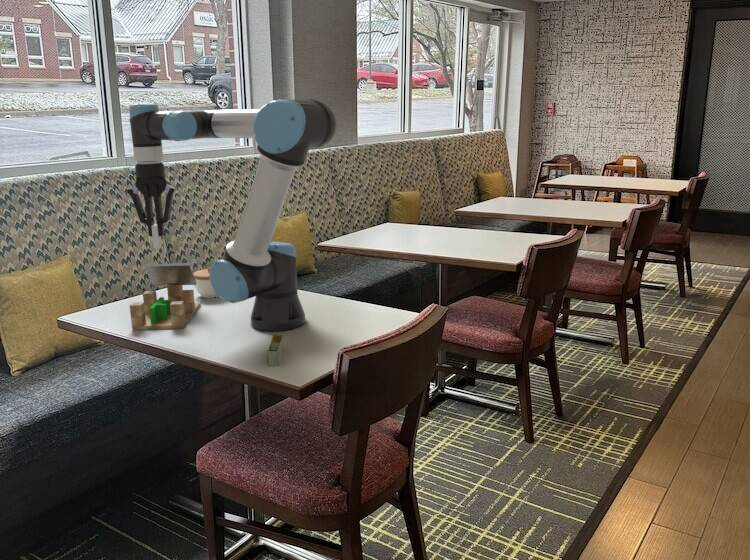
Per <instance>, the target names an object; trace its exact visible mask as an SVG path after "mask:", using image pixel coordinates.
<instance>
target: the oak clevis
mask: <svg viewBox="0 0 750 560" xmlns="http://www.w3.org/2000/svg"><path fill="white" fill-rule="evenodd" d="M183 286H184V285H171V286H166V288H167V289H166V290H167V300H170V303H171V304H170V311H171V315H168V319H167V320H158V321H157V322H156V323H151V319H150V310H149V308H150V307H151V306H152V305H153V304H154V303H155V302H156V301H157V300H158V296H157V291H156V290H145V291H144V292H143V293H142V298H143V299H142V300H143V302H141V301H139V302H137V301H136V302H134V301H133V302H132V303H130V304H129V313H130V320H131V321H130V322H131V330H132V329H146V330H173V329H175V330H176V329H177V330H178V329H184V328H185V327H186V325H188V323H189V322H190V320H191V319H192V318H193V317H194V316H195V314H196V313H195V312H197V311H198V310H199V309H198V308H201V302H196V301H195V293H194V292H195V291H194V289H183V288H184V287H183ZM194 313H195V314H194ZM191 317H192V318H191ZM188 321H189V322H188Z"/></svg>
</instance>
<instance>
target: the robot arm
mask: <svg viewBox="0 0 750 560" xmlns="http://www.w3.org/2000/svg"><path fill="white" fill-rule="evenodd" d="M128 121H129V124H130V132H131V141H132V151H133V161H134V162H136V163H135V165H134V171H135V178H136V179H135V182H134V186H132V187H130V188H129V189H127V193H128V194H129V197H131V198H132V202H133V205H134V208H135V210H136V211H135V212H136V213H137V216H138V219H139V222H140V223H141V224H145V225H146V226H147V230H148V232H147V233H148V236H149V237H152V245H153V249H154V250H155V249H156V250H157V249H158V250H159V249H161V248H162V245H163V244H162V237H163V236H164V235H165V229H164V224H165V223H168V222H169V221H170V219H171V213H172V207H173V200H174V199H173V198H174V194H175V193H176V191H177V188H176V187H175V186H171V185H170V184H168V180H167V179H166V171H165V164H164V163H163V160H164V152H163V143H162V141H175V142H181V141H183V142H184V141H189V140H195V139H196V140H197V139H255V141H256V143H257V146H256V151H257V153H258V154H259V155H260V159H259V162H258V165H257V169H256V171H255V175H254V178H253V180H252V185H251V186H250V190H249V195H248V197H247V200H246V204H245V207H244V209H243V213H242V217H241V219H240V223H239V226H238V229H237V232H236V236H235V239H234V240H232V241H230V242H228V243H227V244H226V247H225V250H224V254H223V256H222V258H220V259H217V260H216V261H214V262H213V263H212V264H211V265H210V267H211V268H210V272H209V277H210V282H211V285H212V286H213V289H214V291H215V292H216V294H217V295H218V296H219V297H218V298H220V299H221V300H222V301H223V302H227V303H229V304H230V303H231V304H235V303H240V302H245V301H247V300H249V299H251V298H252V299H253V298H254V297H255V298H254V302H253V307H252V311H251V315H250V326H251V327H252V328H254V329H256V330H258V331H259V330H260V331H265V332H281V331H282V332H283V331H288V330H289V331H290V330H293V329H296V328H300V327H301V326H303V325H305V323H306V313H305V311H304V308H303V306H302V303H301V300H300V298H299V295H298V293H299V292H298V276H297V275H298V274H297V256H296V248H295V246H294V245H293V244H291V243H288V242H283V241H282V242H281V241H272V239H273V237H274V233H275V231H276V227H277V224H278V221H279V219H280V215H281V213H282V211H283V207H284V204H285V201H286V199H287V196H288V192H289V189H290V187H291V184H292V180H293V177H294V175H295V172H296V170H297V169H299V168H301V167H303V166H304V165H305V162H306V160H307V157H308V153H309V151H310V150H313V149H319V148H322V147H324V146H326V145H328V144H329V143H330V142H331V141H332V140H333V139H334V137H335V135H336V132H337V128H338V120H337V116H336V114H335V112H334V110H333V108H332V107H331V106H330V105H328V104H327V103H326V102H324V101H322V100H319V99H314V98H313V99H291V98H279V99H277V100H275V99H274V100H271V101H269V102H267V103H266V104H264V105H262V107H261V108H248V109H247V108H245V109H244V108H243V109H214V108H213V109H199V110H193V109H192V110H181V109H180V110H178V109H177V110H176V109H175V110H161V111H160V109H159V106H158V104H156V103H132V104H131V105H129V120H128ZM165 190H166V191H165ZM139 192H140V193H141V194H142V196H143V201H144V204H145V205H144V206H145V210H144V207H143V204H142V201H141V198H140V195H139ZM164 192H165V193H166V197H165V205H164V210H163V206H162V205H163V203H162V194H163V193H164ZM153 201H154V207H153ZM153 208H154V209H153ZM154 210H155V211H154ZM163 211H164V212H163ZM154 212H155V218H156V219H155V218H154ZM154 219H155V220H156V223H155V220H154Z"/></svg>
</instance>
